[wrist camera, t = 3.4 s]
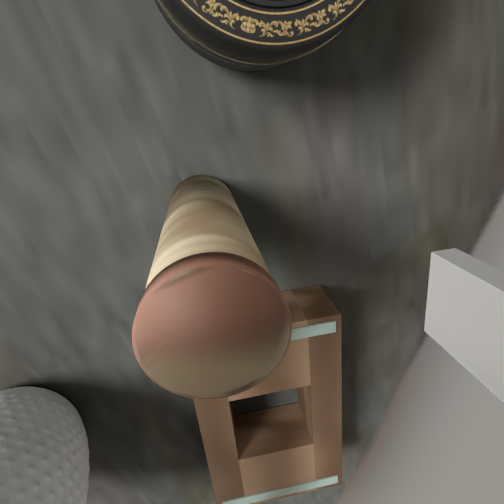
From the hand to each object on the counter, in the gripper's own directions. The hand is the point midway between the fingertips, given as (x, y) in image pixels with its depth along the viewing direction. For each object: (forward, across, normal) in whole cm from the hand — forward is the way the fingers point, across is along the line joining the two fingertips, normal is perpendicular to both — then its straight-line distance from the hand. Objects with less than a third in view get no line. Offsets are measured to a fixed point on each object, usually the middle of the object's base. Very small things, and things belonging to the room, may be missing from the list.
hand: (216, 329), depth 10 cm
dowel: (+13, 0, 0) cm, 13 cm away
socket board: (+13, +2, -14) cm, 20 cm away
